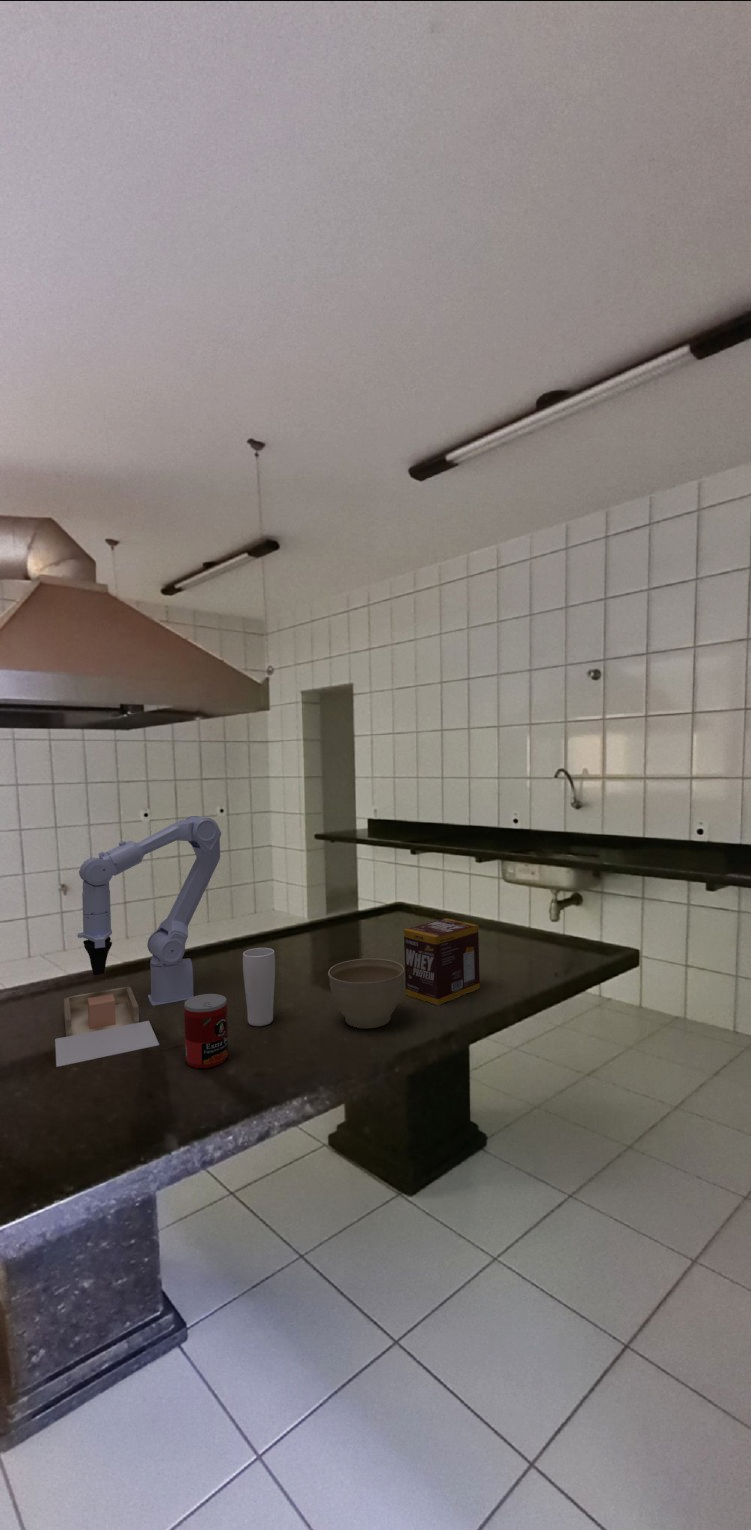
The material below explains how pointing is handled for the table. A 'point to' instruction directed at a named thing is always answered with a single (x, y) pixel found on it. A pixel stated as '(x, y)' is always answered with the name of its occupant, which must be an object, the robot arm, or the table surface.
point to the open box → (79, 1010)
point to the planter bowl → (366, 990)
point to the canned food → (206, 1030)
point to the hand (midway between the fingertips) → (98, 973)
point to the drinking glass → (259, 984)
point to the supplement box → (441, 960)
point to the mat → (104, 1043)
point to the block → (101, 1011)
